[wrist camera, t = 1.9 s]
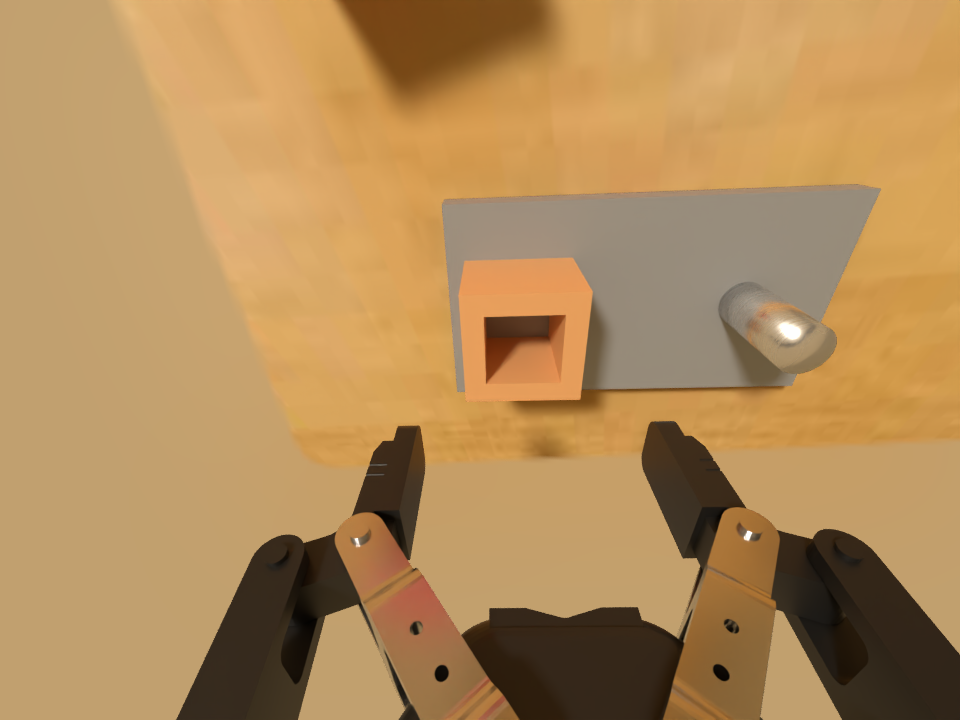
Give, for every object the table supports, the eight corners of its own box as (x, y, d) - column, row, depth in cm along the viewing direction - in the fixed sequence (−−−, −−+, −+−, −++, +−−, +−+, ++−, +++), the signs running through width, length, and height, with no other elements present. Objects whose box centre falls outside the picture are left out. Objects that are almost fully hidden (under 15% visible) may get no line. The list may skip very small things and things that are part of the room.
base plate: (444, 199, 22) (441, 204, 21) (857, 184, 21) (881, 188, 20) (458, 379, 28) (457, 391, 27) (777, 373, 27) (792, 385, 26)
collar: (464, 260, 22) (458, 295, 18) (572, 257, 22) (592, 291, 18) (469, 353, 25) (466, 401, 21) (564, 351, 25) (580, 399, 21)
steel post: (712, 273, 24) (787, 326, 18) (757, 272, 24) (847, 324, 18) (701, 313, 25) (767, 374, 19) (743, 312, 25) (823, 373, 19)
